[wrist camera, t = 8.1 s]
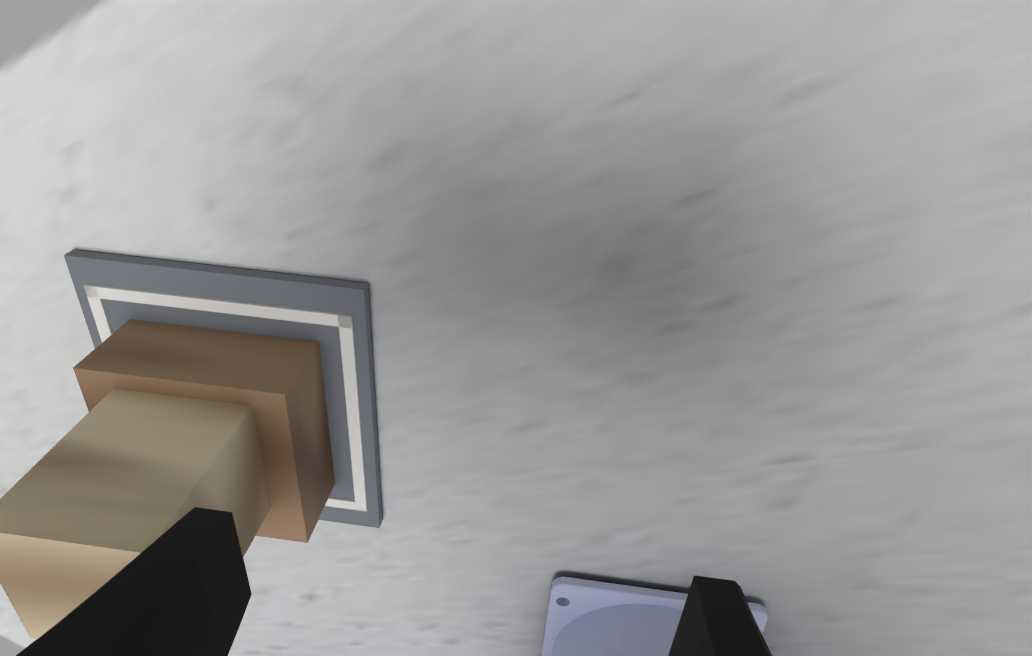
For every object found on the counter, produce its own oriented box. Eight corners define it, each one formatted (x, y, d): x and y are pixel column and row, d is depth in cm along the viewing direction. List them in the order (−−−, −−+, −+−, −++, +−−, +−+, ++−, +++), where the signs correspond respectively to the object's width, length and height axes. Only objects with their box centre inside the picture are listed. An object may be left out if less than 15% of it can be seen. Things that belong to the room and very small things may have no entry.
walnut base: (335, 483, 23) (307, 542, 21) (171, 461, 24) (127, 517, 22) (319, 341, 20) (284, 394, 18) (129, 319, 21) (73, 367, 18)
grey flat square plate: (382, 519, 25) (378, 530, 24) (149, 487, 25) (142, 497, 25) (368, 283, 19) (362, 291, 19) (73, 249, 20) (61, 256, 20)
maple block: (271, 507, 21) (185, 661, 16) (146, 490, 21) (30, 637, 17) (252, 406, 18) (147, 553, 14) (113, 388, 19) (-30, 528, 14)
